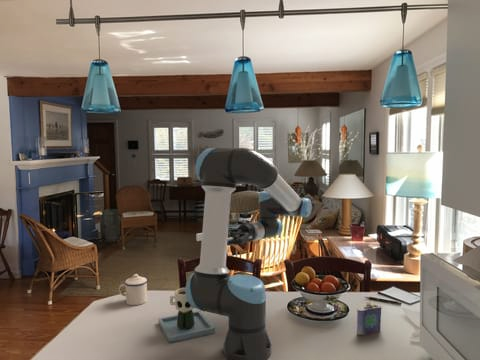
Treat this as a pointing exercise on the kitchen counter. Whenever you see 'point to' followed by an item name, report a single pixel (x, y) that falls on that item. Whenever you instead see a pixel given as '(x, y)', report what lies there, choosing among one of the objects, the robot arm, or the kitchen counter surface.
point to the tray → (178, 334)
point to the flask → (368, 319)
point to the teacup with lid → (135, 290)
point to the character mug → (183, 309)
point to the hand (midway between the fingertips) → (206, 240)
